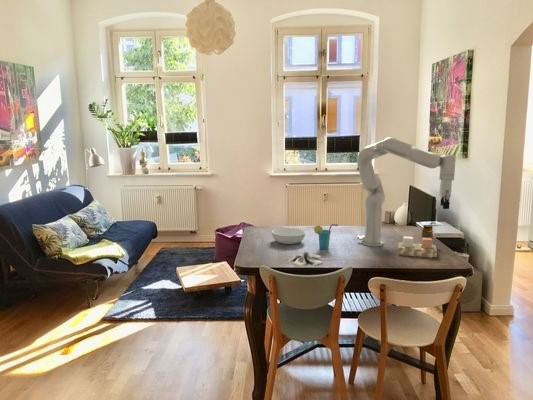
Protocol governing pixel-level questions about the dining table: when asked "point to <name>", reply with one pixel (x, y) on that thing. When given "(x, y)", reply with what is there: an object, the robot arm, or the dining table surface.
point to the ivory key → (408, 241)
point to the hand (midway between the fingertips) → (444, 207)
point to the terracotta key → (427, 243)
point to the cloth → (305, 259)
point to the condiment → (427, 232)
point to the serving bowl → (288, 235)
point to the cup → (323, 236)
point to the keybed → (417, 250)
